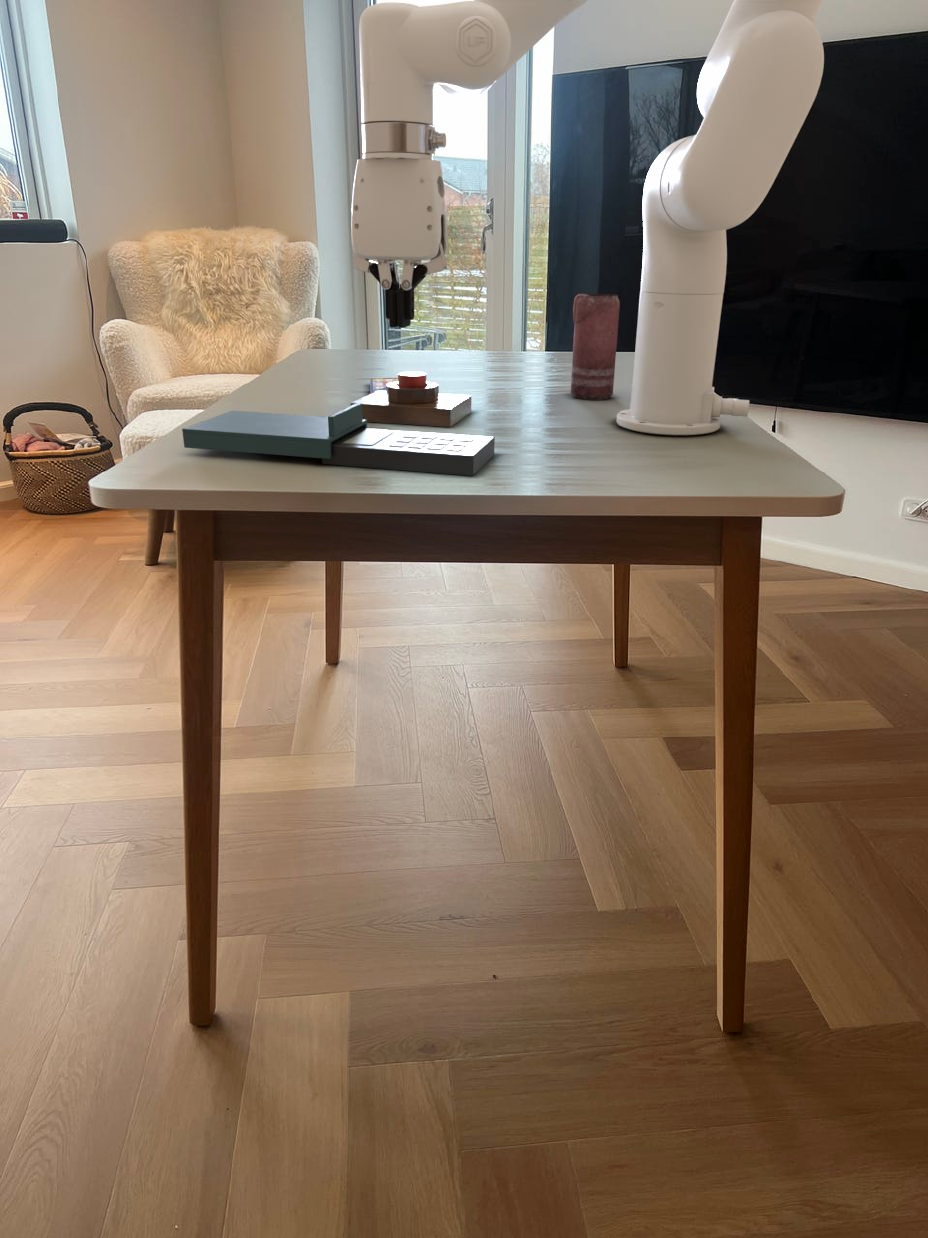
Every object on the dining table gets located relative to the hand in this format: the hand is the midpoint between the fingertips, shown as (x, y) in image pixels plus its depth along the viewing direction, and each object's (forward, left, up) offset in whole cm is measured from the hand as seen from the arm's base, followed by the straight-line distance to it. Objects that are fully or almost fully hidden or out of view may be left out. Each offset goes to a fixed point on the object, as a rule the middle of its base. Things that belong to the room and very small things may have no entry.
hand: (400, 325), depth 100 cm
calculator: (-6, +14, -12) cm, 19 cm away
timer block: (+1, -8, -12) cm, 14 cm away
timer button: (+1, -8, -8) cm, 11 cm away
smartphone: (+9, -24, -12) cm, 28 cm away
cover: (+9, +14, -12) cm, 21 cm away
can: (-19, -30, -12) cm, 37 cm away
